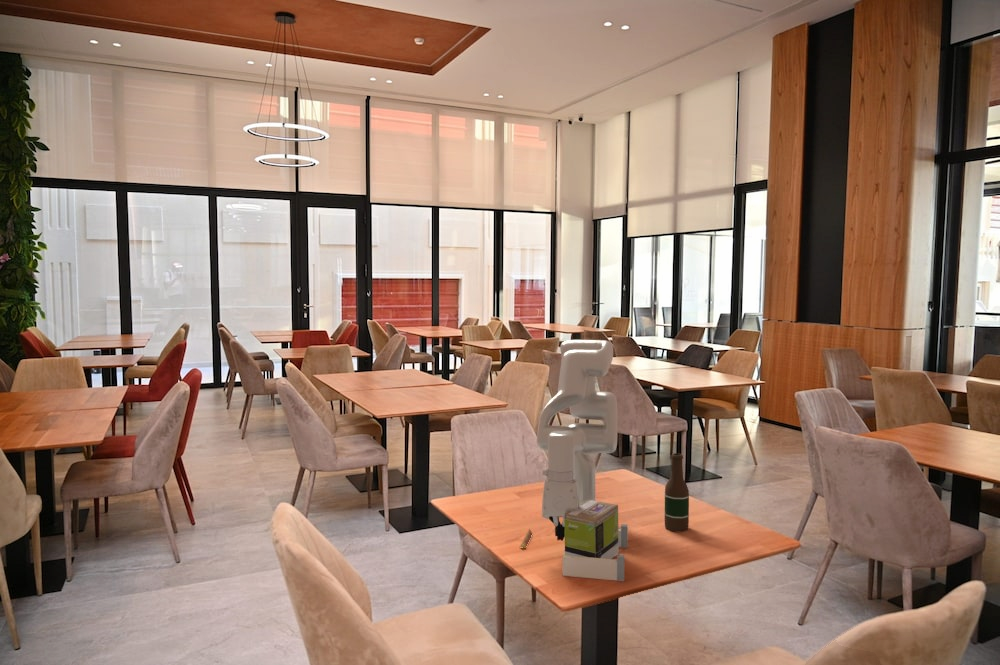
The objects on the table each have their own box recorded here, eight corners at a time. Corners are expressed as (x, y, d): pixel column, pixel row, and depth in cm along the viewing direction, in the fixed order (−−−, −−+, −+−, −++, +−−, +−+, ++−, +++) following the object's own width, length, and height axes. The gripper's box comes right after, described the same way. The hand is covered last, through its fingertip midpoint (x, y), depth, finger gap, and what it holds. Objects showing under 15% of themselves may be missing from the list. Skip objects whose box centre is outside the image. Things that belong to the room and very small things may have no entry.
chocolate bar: (518, 549, 198) (518, 542, 198) (525, 535, 210) (525, 528, 210) (527, 550, 198) (526, 542, 198) (533, 535, 209) (533, 528, 209)
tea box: (588, 546, 199) (588, 497, 198) (619, 554, 193) (620, 504, 192) (563, 563, 186) (563, 511, 185) (595, 572, 181) (596, 519, 180)
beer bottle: (668, 522, 220) (668, 450, 218) (691, 526, 216) (692, 453, 214) (660, 529, 213) (661, 455, 212) (685, 534, 209) (686, 458, 208)
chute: (573, 541, 203) (573, 520, 203) (627, 545, 200) (627, 524, 199) (562, 575, 179) (562, 552, 178) (624, 581, 175) (624, 557, 175)
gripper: (532, 477, 188) (532, 541, 189) (585, 480, 184) (585, 545, 185) (537, 470, 195) (537, 532, 196) (588, 473, 192) (588, 536, 193)
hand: (560, 538), depth 191 cm, fingers closed
